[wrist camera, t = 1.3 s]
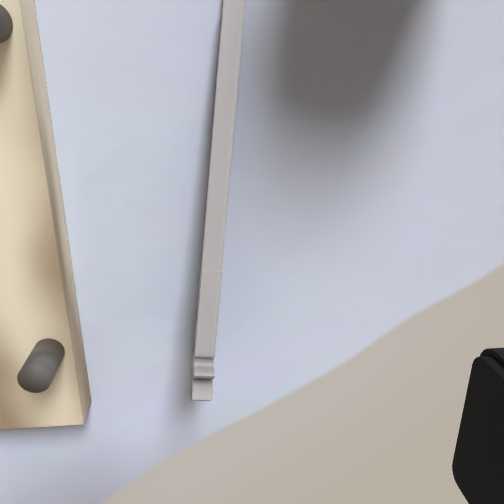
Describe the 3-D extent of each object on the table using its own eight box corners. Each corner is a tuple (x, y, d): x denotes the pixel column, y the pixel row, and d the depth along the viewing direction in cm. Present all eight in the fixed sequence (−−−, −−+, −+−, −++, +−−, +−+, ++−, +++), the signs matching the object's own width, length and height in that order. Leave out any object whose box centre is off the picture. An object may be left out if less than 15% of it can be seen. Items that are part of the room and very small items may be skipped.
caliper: (209, 353, 29) (211, 424, 23) (191, 352, 29) (189, 423, 23) (246, -20, 22) (262, -52, 16) (222, -24, 22) (230, -57, 16)
